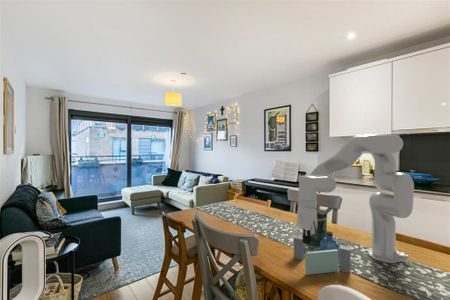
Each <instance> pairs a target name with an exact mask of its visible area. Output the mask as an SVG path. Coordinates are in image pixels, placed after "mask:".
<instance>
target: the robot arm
mask: <svg viewBox="0 0 450 300" xmlns="http://www.w3.org/2000/svg"><path fill="white" fill-rule="evenodd" d="M403 147H404V140H403V139H402V137H400V136H399V135H397V134H361V135H360V134H359V135H354V136H351V137H350V138H349V139H347V141H346V143H345V144H344V145H343V146H342V147H341V148H339V150H338V151H337V152H336V154H334V155H333V156H332V157H330V158H328V159H326V160H325V161H323V162H321V163H320V164H318V165H317V166H316V167H315V168H314V169H313V170H312V172H310V174H308V175H307V174H306V175H304V174H303V175H300V176H299V178H298V206H297V213H296V224H297V226H299V227H300V228H301V232H302V237H303V243H304V245H311V244H312V243H311V236H312V234H315V230H317V211H316V210H317V196H318V195H317V193H332V192H333V191H335V190H336V188H337V182H336V180H335V179H334V178H333V177H331V175H332V174H334V173H337V172H341V171H344V170H348V169H350V168H351V167H352V166H353V165H354V164H355V163H356V162H357V160H359V158H360V157H361V156H362V155H364V154H370V155H371V156H372V158H373V161H374V172H373V173H374V175H373V182H374V183H373V184H374V186H375V188H377V190H378V189H379V190H381V191H387V192H389V193H386V192H378V191H377V192H374V193H372V194H371V195H370V197H369V199H368V201H369V202H368V203H369V209H370V213H371V248H370V249H369V250H368V252H367V253H368V254H367V255H369V257H370V258H371V259H374V260H376V261H379V262H381V263H382V262H383V263H386V264H397V263H400V261H401V259H404V260H409V255H408V254H405V252H399V251H398V250H397V248H396V247H397V242H396V241H397V240H396V239H397V237H396V231H397V230H396V228H397V227H396V226H397V225H396V220H395V217H396V218H400V219H406V218H409V217H410V216H411V214H412V212H413V208H414V193H415V183H414V180H413V178H412V177H411V176H410V175H409V174H407V173H404V172H399V171H397V160H396V158H395V155H394V154H396V153H399V152H400V151H401V150H403ZM390 192H391V193H393V194H390Z"/></svg>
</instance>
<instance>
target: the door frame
mask: <svg viewBox="0 0 450 300" xmlns="http://www.w3.org/2000/svg"><path fill="white" fill-rule="evenodd" d="M293 258H294V259H297V260H300V261H303V260H305V244H304V243H303V236H299V235H294V237H293ZM351 266H352V265H351V247H349V246H345V245H344V246H343V245H340V246H339V259H338V272H343V273H346V274H351Z"/></svg>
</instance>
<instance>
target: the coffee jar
mask: <svg viewBox="0 0 450 300" xmlns="http://www.w3.org/2000/svg"><path fill="white" fill-rule="evenodd" d="M316 211H317V230H315V234H312V236H311V244H313V245H315V246H316V245H317V246H320V241H321V240H322V239H323V238H326V231H328V229H327V227H328V226H327V221H328V212H327V211H326V210H324V209H320V208H318V209H316Z"/></svg>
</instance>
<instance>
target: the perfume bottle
mask: <svg viewBox="0 0 450 300" xmlns="http://www.w3.org/2000/svg"><path fill="white" fill-rule="evenodd" d="M319 246H320V249H319V251H324V250H335V249H337V250H338V260H339V247H340V246H339V244H338V243H337V241H336V239H334V232H333V231H329V230H327V231H326V238H323V239H322V240H321V241H320V245H319Z"/></svg>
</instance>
